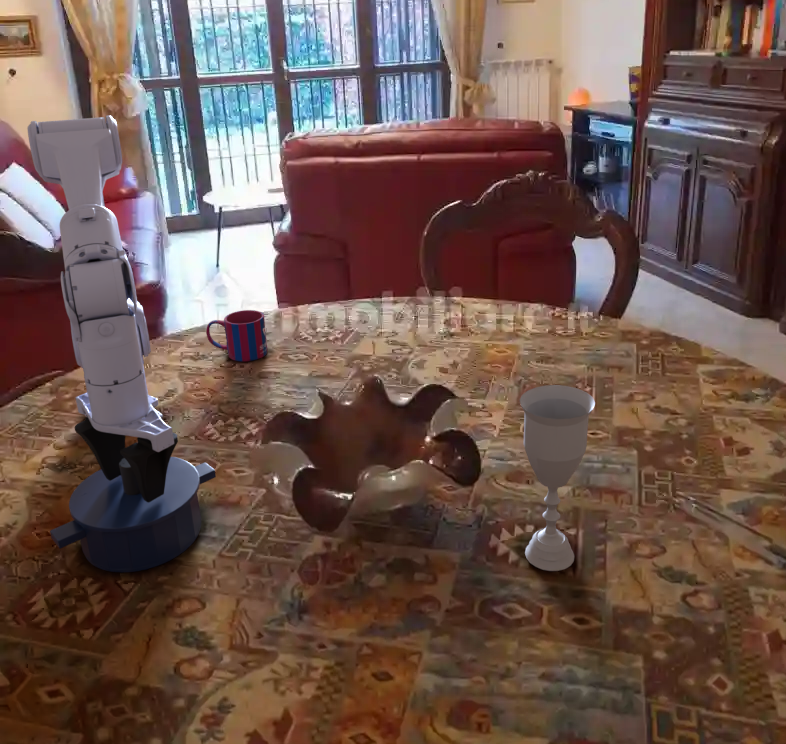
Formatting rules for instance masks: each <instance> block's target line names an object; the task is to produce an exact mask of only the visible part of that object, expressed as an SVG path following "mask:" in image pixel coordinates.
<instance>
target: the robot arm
mask: <svg viewBox="0 0 786 744" xmlns="http://www.w3.org/2000/svg"><path fill="white" fill-rule="evenodd" d="M27 136H28V143H29V148H30V153H31V159H32V163H33V166H34V169H35V171H36V172H37V174H38V176H39V177H40V178H42V180H43V181H44V182H45V183H50V184H55V185H60V187H61V188H62V189H63V193H64V197H65V200H66V204H67V207H68V210H67V211H66V212H65V213H64V214H63V215H62V217H61V218H60V221H59V233H60V240H61V249H62V256H63V264H64V270H65V271H61V272H60V285H61V291H62V297H63V302H64V308H65V311H66V314H67V317H68V319H69V321H70V322H69V323H70V332H71V339H72V346H73V352H74V357H75V362H76V365H77V366H79V367H80V368H81V369H82V371H83V378H84V379H83V381H84V384H85V389H86V392H85V393H82V394H80V395H77V396H75V403H76V406H77V412H78V413H79V414H80V415H84V420H83V421H79V422H78V423H76V424H75V425H74V427H73V428H74V431H75V432H76V433H77V435H78V436H79V437H81V438H82V440H83V441H84V442H85V444H86V445H87V446H88V447H89V449H90V451H91V452H92V454H93V456H94V457H95V460H96V461H97V463H98V466H99V467H100V469H102V471H103V473H104V475H105V477H106V478H107V479H108V480H109V481H111V480H113V479H114V478H116V477H118V476H120V475H121V472H120V467H119V462H120V461H121V460H122V459H124V458H125V459H126V460H127V462H128V463H129V465H130V466H131V468H132V470H133V472H134V474H135V476H136V479H137V483H138V486H139V489H140V492H141V495H142V497H143V499H144V500H145V501H146V502H151V501H153V500H154V499H156V498H158V497H160V496H161V495H163V494H164V489H165V481H166V474H167V468H168V464H169V460H170V457H172V455H173V453H174V450H175V448H176V446H177V445H178V443H179V438H178V434H177V433H175V432H173V427H172V426H169V425H168V424H166V422H165V421H164V420H163V417H164V415H163V414H162V412H160V411H158V410H157V409H155V408H156V407H158V406H159V400H158V398H157V397H155V396H152V395H151V394H150V395H149V391H148V385H147V378H146V371H145V367H144V364H145V361H144V358H147V357H149V355H150V353H151V352H152V349H151V342H150V335H149V330H148V324H147V319H146V316H145V312H144V307H143V305H141V303H140V302H139V301H138V297H137V291H136V285H135V279H134V274H133V269H132V266H131V263H130V262H129V259H128V257H127V254H126V251H125V249H123V244H122V237H121V234H120V227H119V223H118V219H117V216H116V215H115V213H114V212H113V211H111V210H110V209H108V208H107V207H106V205H105V200H104V193H103V191H104V187H105V185H106V183H107V180H109V179H111V178H113V177H116V176H118V175H120V171H121V170H122V165H123V154H122V147H121V140H120V135H119V130H118V124H117V120H116V119H114V118H113V116H112V115H105V117H104V116H102V117H101V116H100V117H88V118H76V119H75V118H74V119H62V120H61V119H60V120H47V121H38V122H37V120H32V121H30V123H29V124H28V126H27ZM126 437H133V438H136V440H137V441H136V442H134V443H132V444H130V445H128V446H126Z"/></svg>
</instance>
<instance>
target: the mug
mask: <svg viewBox="0 0 786 744" xmlns="http://www.w3.org/2000/svg"><path fill="white" fill-rule="evenodd" d="M214 324H215V325H220V326H221V327H223V328H224V331H225V332H224V333H225V340H226V341H225V342H226V344H223V343H222V344H221V343H218V342H217V341H215V340H214V339H213V337H212V335H211V332H210V331H211V330H210V329H211V326H212V325H214ZM205 330H206V331H205V332H206V338H207V341H208V342H209V343H210V344H211V345H212V346H214V347H216V348H217V349H220V350H225V351H227V356H228V358H229V359H230V360H232V361H235V362H251V361H252V362H253V361H257V360H259V359H263V357H265V356H266V355H267V354H268V341H267V340H268V339H267V332H266V331H267V330H266V320H265V314H264V312H262V311H259V310H254V309H243V310H236V311H233V312H231V313H229V314H227V315H225V316H224V318H223V320H221V319H214V320H210V321H209V323H207V325H206V329H205Z"/></svg>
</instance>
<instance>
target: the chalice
mask: <svg viewBox="0 0 786 744" xmlns="http://www.w3.org/2000/svg"><path fill="white" fill-rule="evenodd" d="M519 404H520V406H521V407H520V408H522V410H523V413H524V418H523V448H524V450H525V453H526V457H527V460H528V462H529V465H530V467H531V469H532V470H533V473H534V474H535V476H536V478H537V480H538V482H539V483H540V484H541V485H542V486H544V487H547V494H546V496H545V497H544V498H543V501H544V503H545V504H546V510H545V511H544V512H543V513H542V518H543V519H544V520H545V523H546V526H545V527H543V528H540V529H539V530H537V531H535V533H533V535H532V537H531V539H530V540H529V543H528V545H526V547H525V551H524V554H525V557H526V560H527V561H528V562H529V563H530V564H531V565H532V566H534V567H535V568H538V569H540V570H543V571H548V572H558V571H562V570H566V569H568V568H569V567H571V566H572V564H573V563H574V561H575V553H574V551H573V549H572V547H571V543H569V539H568V537H567V536H566V535H565V534H564V533H563V531H561V530H559V529H557V526H556V524H557V522H558V520H560V519H561V514H560V513H559V511H558V510H557V507H558V505H559V504H560V503H561V499H560V497H559V493H558V490H559V488H562V487H565V486H566V485H567V483H568V482H569V481H570V479H571V478H572V476H573V475H574V473H575V472H576V471H577V469H578V468H579V466H580V464H581V462H582V459H583V458H584V455H585V453H586V451H587V446H588V434H589V433H588V432H589V431H588V430H589V416H590V414H591V413H592V412H593V410H594V409H595V405H596V402H595V399H594V397H593V396H592V395H591V394H589V393H588V392H587V391H585V390H582V389H580V388H578V387H573V386H569V385H561V384H560V385H559V384H549V385H540V386H536V387H533V388H530V389H528V390H526V391H525V392H524V393H522V394H521V395H520V398H519Z"/></svg>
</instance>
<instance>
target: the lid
mask: <svg viewBox="0 0 786 744" xmlns="http://www.w3.org/2000/svg"><path fill="white" fill-rule="evenodd" d="M119 467H120V472H121V475H120V476H118V477H116V478H114V479H113V480H111V481H109V480H108V479H107V478H106V477H105V475H104V473H103V471H102V469H101V468H100V469H99V470H97V471H95V472H93V473H92V474H90V475H88V476H87V477H86V478H85V479H83V480H82V481H81V482H80V483H79V484H78V485H77V487H76V488H75V489H74V490H73V491H72V493H71V495H70V498H69V501H68V508H69V513H70V516H71V518H72V520H75V521H76V522H77V523H78V524H79V525H81V526H83V527H85V528H88V529H91V530H95V531H101V532H124V531H131V530H136V529H141V528H144V527H148V526H151V525H154V524H156V523H159V522H161V521H163V520H166V519H168V518H170V517H171V516H173V515H175V514H176V513H178V512H179V511H181V510H182V509H183V508H185V507H186V506H187V505H188V504H189V503H190V502H191V501H192V500H193V498H194V497H195V496H196V494H197V495H198V492H199V490H200V485H201V484H200V479H199V474H198V472H197V470H196V469H195V466H194V465H193V464H192V463H190V462H188V461H187V460H186V459H185V460H184V459H182V458H180V457H176V456H171V457H170V460H169V464H168V468H167V474H166V481H165V489H164V494H163V495H161V496H160V497H158V498H156V499H154V500H153V501H151V502H146V501H145V500H144V499H143V497H142V495H141V492H140V489H139V486H138V483H137V479H136V476H135V474H134V472H133V470H132V468H131V466H130V465H129V463H128V462H127V460H126V459H125V458H124V459H122V460H121V461H120V462H119Z"/></svg>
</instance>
